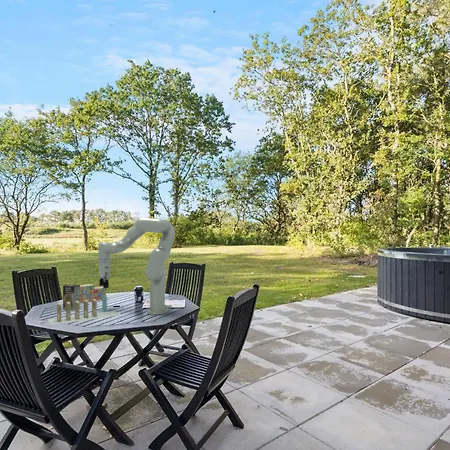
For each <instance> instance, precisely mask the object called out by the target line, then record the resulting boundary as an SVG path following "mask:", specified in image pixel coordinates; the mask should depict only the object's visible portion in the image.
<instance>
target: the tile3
mask: <svg viewBox="0 0 450 450" xmlns="http://www.w3.org/2000/svg"><path fill="white" fill-rule="evenodd" d="M88 314H89V302H88V301H87V300H84V303H83V315H84V317H85V318H88Z"/></svg>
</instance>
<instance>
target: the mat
mask: <svg viewBox="0 0 450 450" xmlns="http://www.w3.org/2000/svg"><path fill="white" fill-rule="evenodd" d="M117 316H118V317H119V316H121V313H119V312H117V311H116V310H112V311H110V310H109V311H103V312H102V311H101V312H97V317H93V316H92V313H88V318H85V317H84V314H80V319H76V318H75V315H71V320H69V321H68V320H67V319H66V316H65V317H61V322H58V321H57V317H56V318H49V319H47V322H48V324H49V325H50V326H53V325H60V324H68V323H75V322H81V321H88V320H89V321H90V320H97V319H102V318H109V317H117Z"/></svg>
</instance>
